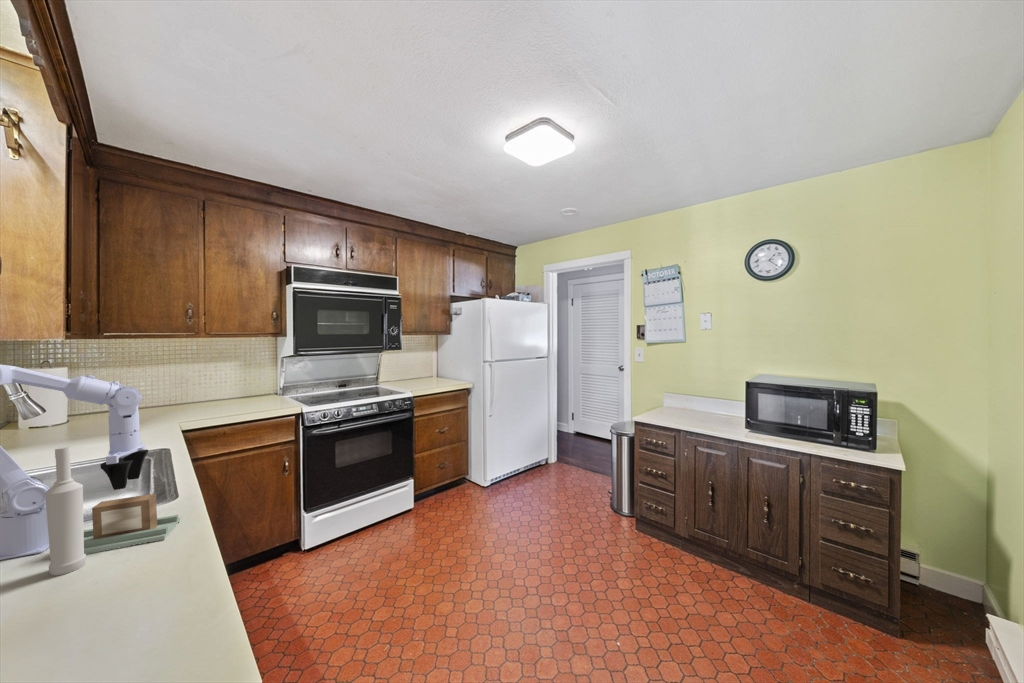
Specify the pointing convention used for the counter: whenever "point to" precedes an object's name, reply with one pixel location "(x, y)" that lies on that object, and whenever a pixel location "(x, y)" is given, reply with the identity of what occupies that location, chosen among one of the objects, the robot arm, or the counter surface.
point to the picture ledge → (130, 536)
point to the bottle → (65, 518)
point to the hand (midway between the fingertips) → (126, 483)
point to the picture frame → (124, 516)
